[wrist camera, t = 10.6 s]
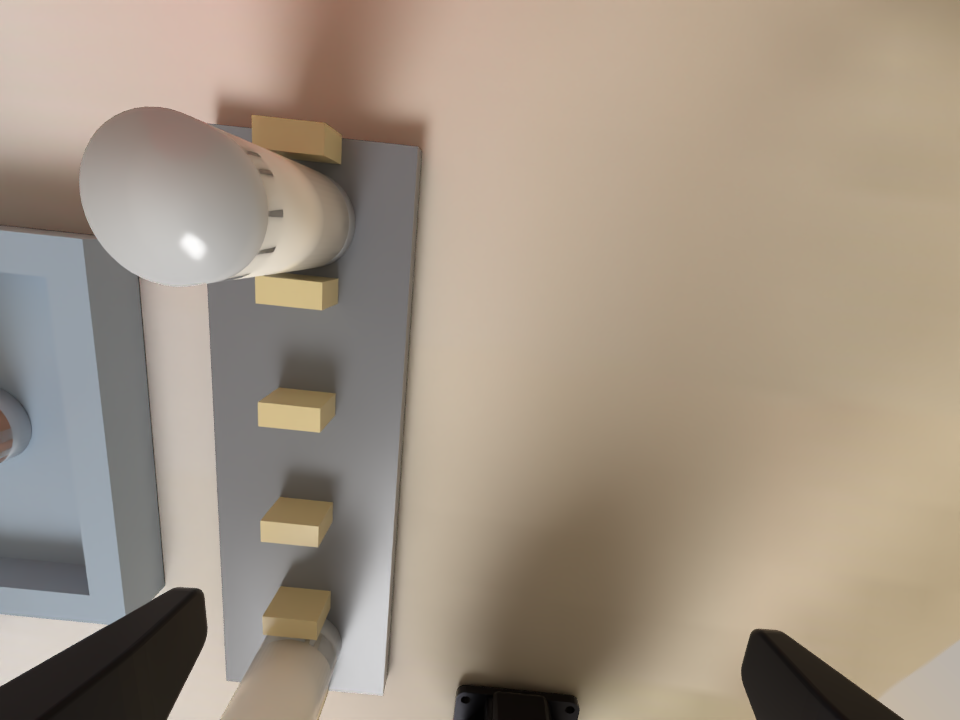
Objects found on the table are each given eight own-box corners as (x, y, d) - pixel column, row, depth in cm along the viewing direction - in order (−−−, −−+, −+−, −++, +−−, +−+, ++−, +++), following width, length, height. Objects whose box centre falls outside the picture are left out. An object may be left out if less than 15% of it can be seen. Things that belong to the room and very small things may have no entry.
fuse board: (387, 679, 24) (374, 734, 21) (236, 664, 24) (205, 718, 21) (422, 149, 18) (410, 132, 15) (215, 126, 17) (165, 105, 15)
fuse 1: (354, 271, 18) (253, 293, 10) (262, 263, 18) (90, 279, 10) (356, 174, 17) (247, 114, 9) (259, 165, 17) (67, 98, 9)
